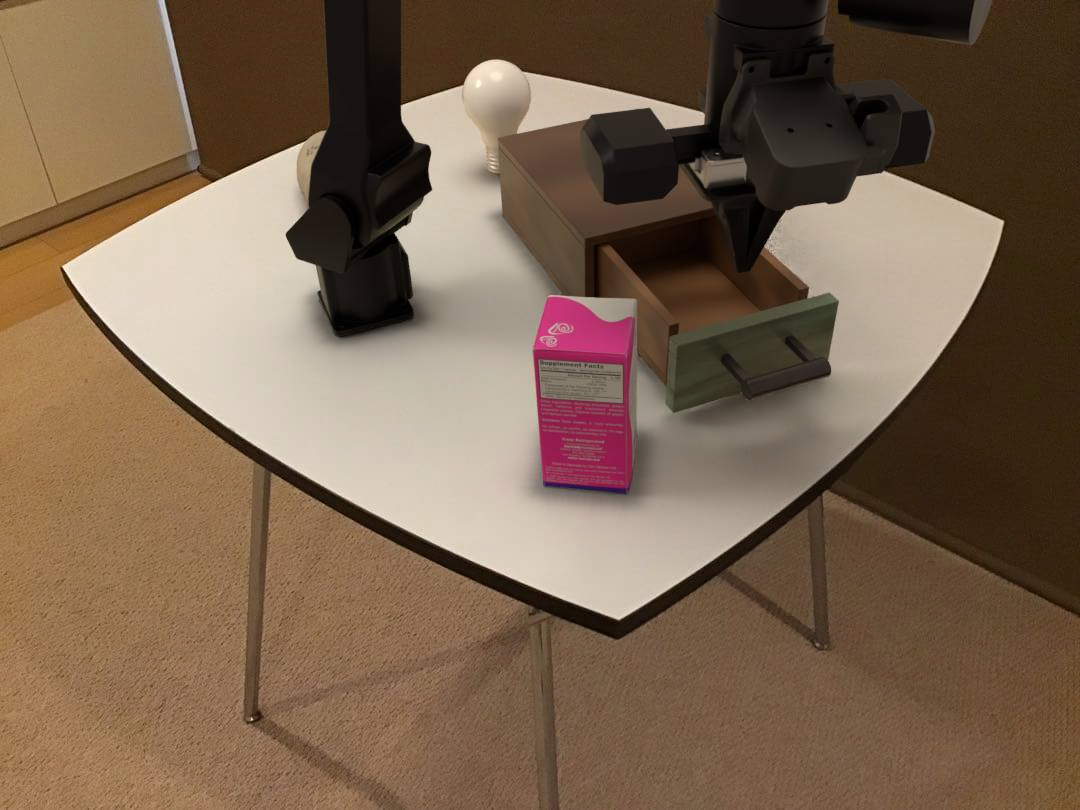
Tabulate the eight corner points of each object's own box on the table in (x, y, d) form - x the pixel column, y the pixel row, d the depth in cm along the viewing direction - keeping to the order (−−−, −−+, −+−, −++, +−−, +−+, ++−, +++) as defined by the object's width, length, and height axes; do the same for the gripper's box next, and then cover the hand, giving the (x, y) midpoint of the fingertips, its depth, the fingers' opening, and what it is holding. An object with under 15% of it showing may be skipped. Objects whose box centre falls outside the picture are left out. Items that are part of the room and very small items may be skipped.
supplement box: (552, 429, 72) (547, 290, 64) (638, 437, 71) (643, 297, 63) (538, 488, 67) (531, 346, 60) (629, 497, 66) (633, 354, 59)
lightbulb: (511, 194, 98) (504, 81, 90) (456, 179, 100) (445, 68, 93) (546, 166, 102) (542, 56, 95) (492, 152, 104) (485, 44, 97)
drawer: (863, 402, 71) (878, 334, 68) (703, 452, 68) (710, 383, 64) (707, 251, 87) (712, 188, 83) (571, 285, 84) (570, 222, 80)
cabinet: (737, 282, 85) (746, 199, 80) (585, 323, 81) (584, 238, 76) (636, 184, 98) (639, 108, 93) (502, 215, 95) (497, 137, 90)
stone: (303, 207, 91) (267, 120, 97) (332, 248, 97) (296, 164, 103) (362, 177, 91) (322, 92, 97) (387, 220, 97) (348, 137, 103)
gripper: (637, 93, 45) (628, 373, 55) (1025, 47, 48) (950, 322, 58) (576, 8, 54) (578, 264, 64) (909, -28, 57) (861, 224, 67)
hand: (740, 269), depth 63 cm, fingers closed
